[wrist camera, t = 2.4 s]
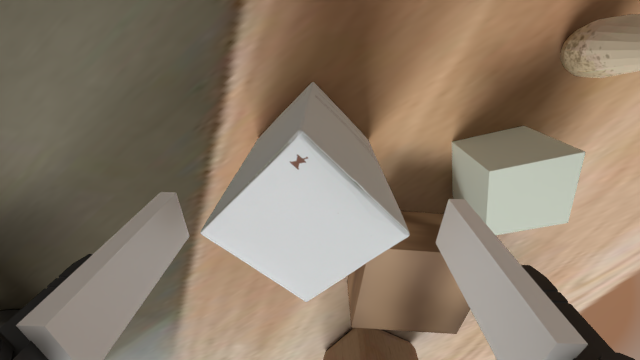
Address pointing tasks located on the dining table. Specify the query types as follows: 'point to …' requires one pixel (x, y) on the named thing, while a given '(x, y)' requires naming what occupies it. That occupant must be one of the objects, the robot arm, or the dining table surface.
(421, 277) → the base block
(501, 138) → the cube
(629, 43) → the mushroom
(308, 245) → the supplement box
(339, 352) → the wooden block
